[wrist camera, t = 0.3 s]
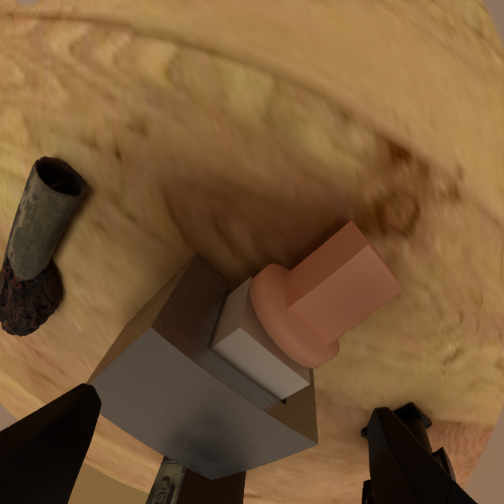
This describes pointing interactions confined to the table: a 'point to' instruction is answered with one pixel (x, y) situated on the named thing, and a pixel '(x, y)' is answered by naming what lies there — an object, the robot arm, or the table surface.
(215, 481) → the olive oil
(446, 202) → the table surface
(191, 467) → the housing
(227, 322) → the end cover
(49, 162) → the metal pipe
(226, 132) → the table surface
